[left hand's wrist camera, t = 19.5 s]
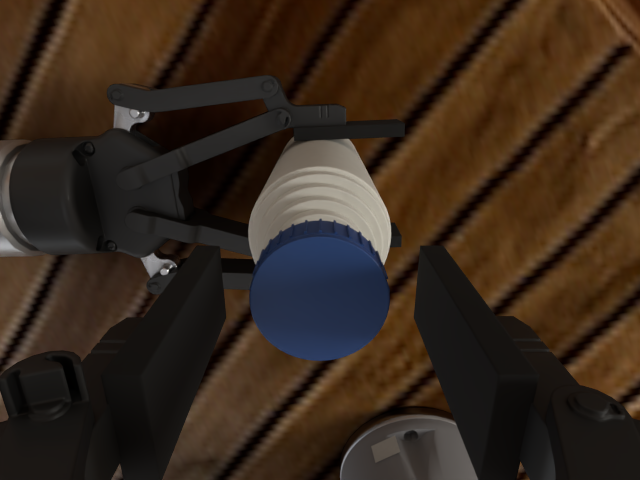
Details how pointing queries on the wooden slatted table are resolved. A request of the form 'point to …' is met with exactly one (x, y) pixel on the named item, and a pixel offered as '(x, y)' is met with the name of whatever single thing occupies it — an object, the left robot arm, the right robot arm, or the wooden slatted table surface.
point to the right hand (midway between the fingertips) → (398, 183)
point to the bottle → (319, 194)
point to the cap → (319, 291)
